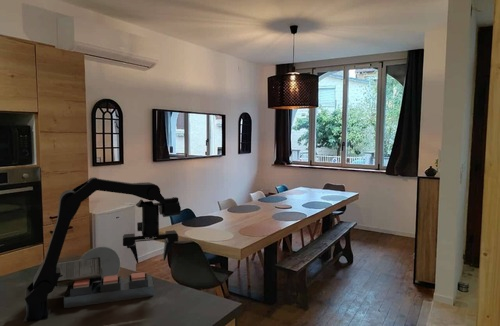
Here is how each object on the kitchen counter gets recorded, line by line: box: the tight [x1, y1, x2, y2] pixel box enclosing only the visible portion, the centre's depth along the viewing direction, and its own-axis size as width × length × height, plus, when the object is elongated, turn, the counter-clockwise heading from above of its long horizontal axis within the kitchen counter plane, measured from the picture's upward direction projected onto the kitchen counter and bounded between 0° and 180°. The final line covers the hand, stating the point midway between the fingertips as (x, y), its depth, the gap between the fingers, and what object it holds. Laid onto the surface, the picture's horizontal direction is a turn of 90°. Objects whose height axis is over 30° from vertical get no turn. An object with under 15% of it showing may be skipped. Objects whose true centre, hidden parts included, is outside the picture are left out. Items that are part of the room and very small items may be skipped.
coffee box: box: [53, 257, 102, 290], centre depth 123 cm, size 9×6×16 cm
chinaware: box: [79, 246, 122, 283], centre depth 133 cm, size 15×15×8 cm
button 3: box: [73, 279, 90, 288], centre depth 118 cm, size 4×4×3 cm
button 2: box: [103, 274, 119, 285], centre depth 121 cm, size 4×4×3 cm
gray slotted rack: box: [63, 272, 155, 309], centre depth 123 cm, size 10×28×6 cm, turn 110°
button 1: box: [130, 271, 146, 281], centre depth 124 cm, size 4×4×3 cm
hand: (151, 261), depth 126 cm, fingers open, 9 cm apart
